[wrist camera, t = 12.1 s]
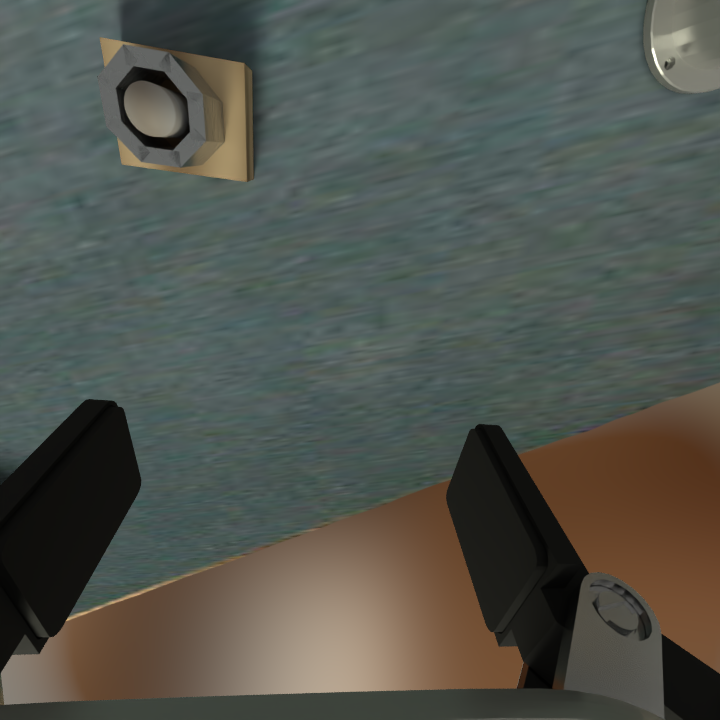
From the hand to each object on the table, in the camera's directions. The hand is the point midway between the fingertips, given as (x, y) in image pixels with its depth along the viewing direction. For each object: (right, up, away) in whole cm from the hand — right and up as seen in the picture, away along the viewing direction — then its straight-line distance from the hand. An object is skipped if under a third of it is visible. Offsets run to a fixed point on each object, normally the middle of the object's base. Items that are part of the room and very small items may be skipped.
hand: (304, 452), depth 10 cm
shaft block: (-13, +23, +21) cm, 34 cm away
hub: (-12, +22, +18) cm, 31 cm away
